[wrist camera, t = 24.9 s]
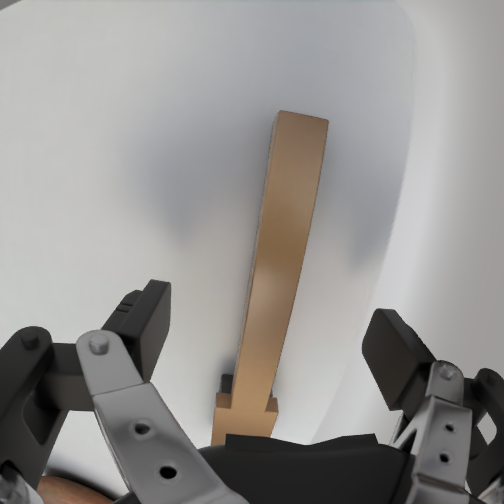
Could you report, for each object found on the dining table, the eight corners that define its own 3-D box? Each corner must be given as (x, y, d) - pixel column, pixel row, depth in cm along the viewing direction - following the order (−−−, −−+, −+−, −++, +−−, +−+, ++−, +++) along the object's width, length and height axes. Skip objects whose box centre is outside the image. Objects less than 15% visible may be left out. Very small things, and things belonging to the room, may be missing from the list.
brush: (254, 117, 12) (256, 105, 9) (327, 130, 12) (350, 125, 9) (212, 428, 19) (209, 462, 16) (258, 432, 19) (260, 466, 16)
